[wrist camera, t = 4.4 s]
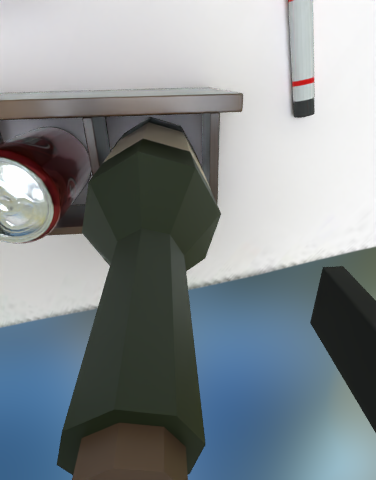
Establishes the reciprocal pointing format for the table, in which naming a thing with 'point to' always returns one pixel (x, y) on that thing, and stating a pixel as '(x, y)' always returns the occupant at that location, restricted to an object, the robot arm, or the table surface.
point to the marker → (302, 56)
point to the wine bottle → (142, 313)
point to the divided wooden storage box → (124, 104)
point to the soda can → (39, 182)
